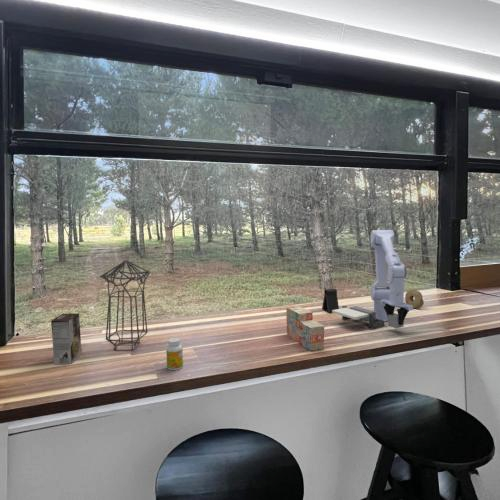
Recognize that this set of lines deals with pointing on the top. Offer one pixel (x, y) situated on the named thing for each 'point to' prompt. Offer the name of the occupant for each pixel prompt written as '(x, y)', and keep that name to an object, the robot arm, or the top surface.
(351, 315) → the trapdoor
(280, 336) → the top surface
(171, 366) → the supplement bottle
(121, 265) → the geometric lantern
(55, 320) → the coffee box
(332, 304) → the phone stand
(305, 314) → the stack of blocks
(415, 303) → the stone disc
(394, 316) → the stone block
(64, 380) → the top surface
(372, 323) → the frame
